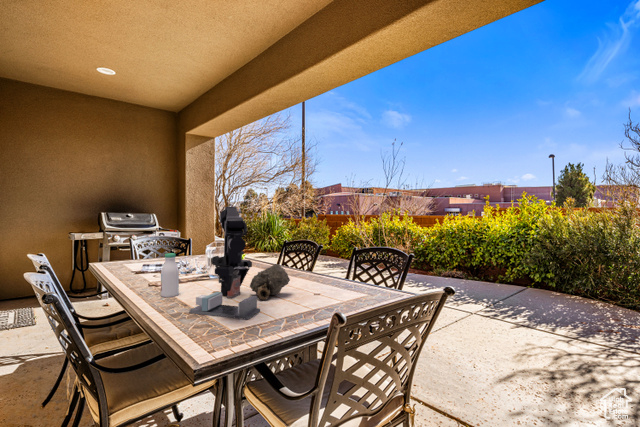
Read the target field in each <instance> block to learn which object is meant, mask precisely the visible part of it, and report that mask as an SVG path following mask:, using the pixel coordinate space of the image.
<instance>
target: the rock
mask: <svg viewBox="0 0 640 427" xmlns="http://www.w3.org/2000/svg"><path fill="white" fill-rule="evenodd" d="M290 281H291V279H290V277H289V275H288V272H287V271H286V270H285V269H284V267H282V266H281V265H279V264H276V263H275V264H272V265H271V266H270V267H266V269H264V270H261V271H257V274H255V275H254V276H253V277H252V279H251V281H250V284H249V288H251V291H252V292H254V293H255V294H256V296H257V298H259V300H262V301H265V300H268V299H269V296H277V295H279V294H280V292H281V291H282V290H283V288H285V286H287V285H289V283H290Z"/></svg>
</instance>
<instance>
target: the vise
mask: <svg viewBox="0 0 640 427" xmlns="http://www.w3.org/2000/svg"><path fill="white" fill-rule="evenodd" d="M188 311H189V313H188V314H195V315H196V314H197V315H204V316H212V317H221V318H230V319H238V320H245V321H246V320H247V321H248V320H250V319H251V318H253V317H255V316H256V315H258V314H259V313H261V308H258V295H250V296H248V297H246V298H244V299H242V300H240V301H239V302H238V305H237V306H236V305H227V304H221V305H219V306H217V307H215V308H213V309H211V310H209V311H202V305H196V306H195V307H192V308H191V309H189V310H188Z"/></svg>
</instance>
